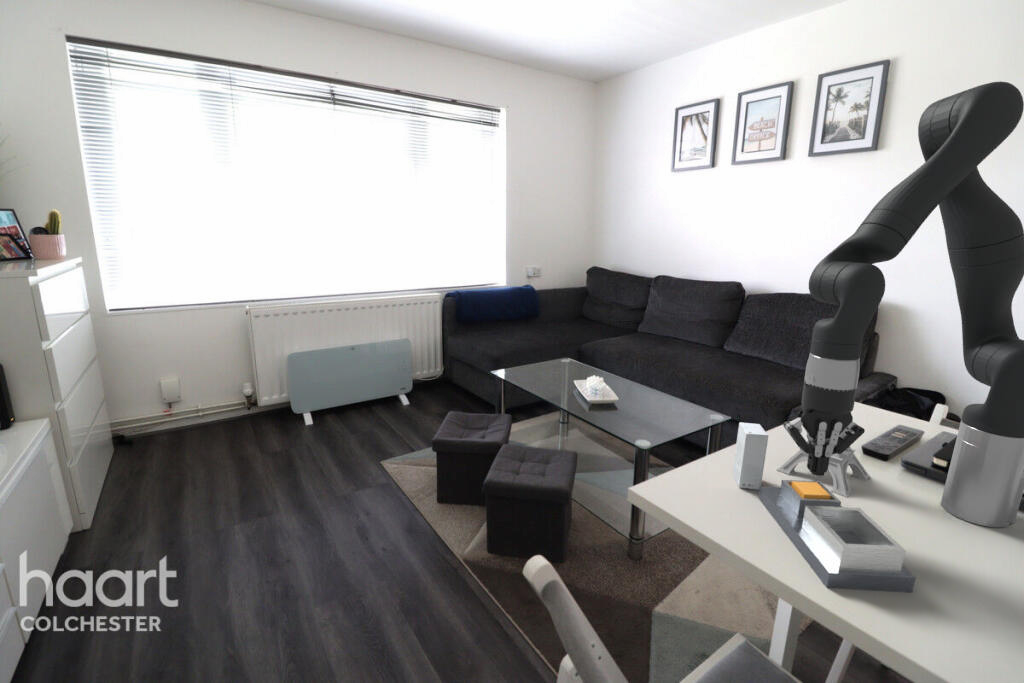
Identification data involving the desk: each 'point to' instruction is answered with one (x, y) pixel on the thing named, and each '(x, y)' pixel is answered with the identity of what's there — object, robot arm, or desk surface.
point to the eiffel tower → (832, 469)
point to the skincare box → (750, 455)
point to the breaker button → (810, 490)
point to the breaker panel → (838, 541)
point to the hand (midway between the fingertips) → (816, 473)
